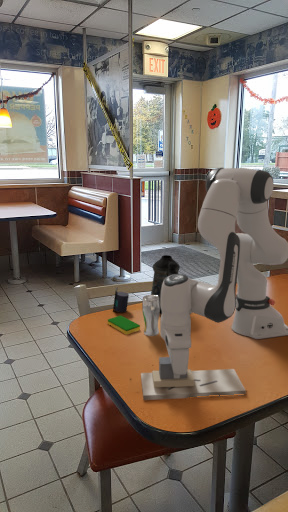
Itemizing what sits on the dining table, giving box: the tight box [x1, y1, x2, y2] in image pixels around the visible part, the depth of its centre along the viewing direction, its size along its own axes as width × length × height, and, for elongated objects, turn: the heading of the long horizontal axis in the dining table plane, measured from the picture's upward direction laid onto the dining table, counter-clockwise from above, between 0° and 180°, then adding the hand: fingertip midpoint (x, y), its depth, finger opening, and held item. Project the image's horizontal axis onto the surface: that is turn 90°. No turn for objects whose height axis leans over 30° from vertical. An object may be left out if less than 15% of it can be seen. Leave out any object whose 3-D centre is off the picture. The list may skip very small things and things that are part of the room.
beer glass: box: [141, 294, 161, 337], centre depth 152 cm, size 7×7×15 cm
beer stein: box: [150, 254, 181, 315], centre depth 176 cm, size 16×19×25 cm
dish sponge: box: [107, 315, 141, 335], centre depth 160 cm, size 7×14×2 cm, turn 39°
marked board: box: [140, 368, 247, 401], centre depth 117 cm, size 30×12×2 cm, turn 94°
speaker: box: [112, 286, 130, 314], centre depth 176 cm, size 8×6×10 cm
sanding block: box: [151, 356, 194, 387], centre depth 116 cm, size 12×6×7 cm, turn 93°
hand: (175, 372), depth 116 cm, fingers closed on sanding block, 4 cm apart
